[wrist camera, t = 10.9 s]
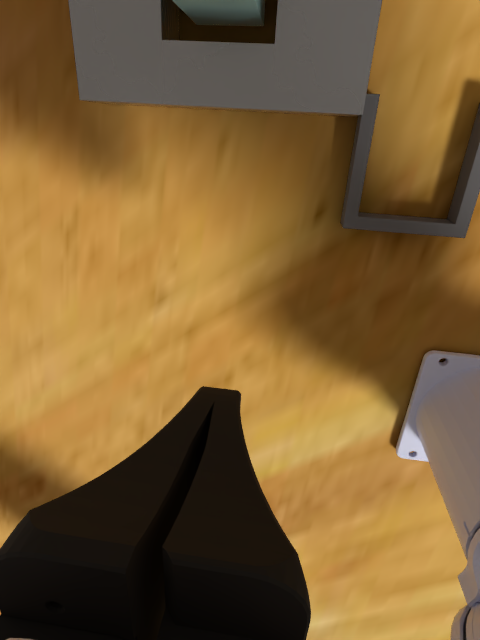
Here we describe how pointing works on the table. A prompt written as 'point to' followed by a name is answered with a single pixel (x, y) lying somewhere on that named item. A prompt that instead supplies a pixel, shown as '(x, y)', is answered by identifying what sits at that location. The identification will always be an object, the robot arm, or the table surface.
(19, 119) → the table surface
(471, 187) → the holster
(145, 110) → the table surface
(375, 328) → the table surface
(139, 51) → the port panel
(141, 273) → the table surface
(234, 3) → the plug
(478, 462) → the robot arm
